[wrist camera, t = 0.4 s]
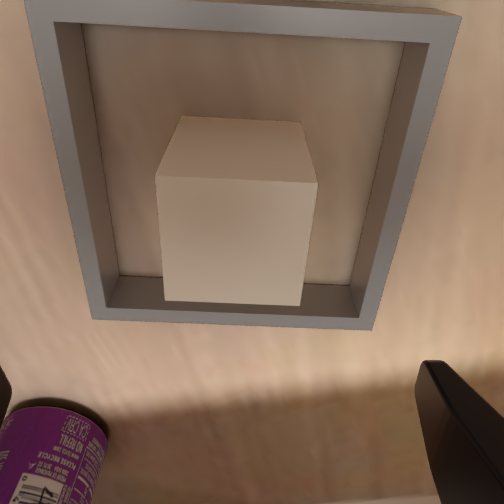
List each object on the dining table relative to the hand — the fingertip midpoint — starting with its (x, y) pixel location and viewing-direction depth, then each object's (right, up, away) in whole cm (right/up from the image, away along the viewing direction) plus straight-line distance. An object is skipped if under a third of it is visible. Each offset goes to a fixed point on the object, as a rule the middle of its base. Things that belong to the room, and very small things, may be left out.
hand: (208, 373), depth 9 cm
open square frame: (0, +6, +10) cm, 12 cm away
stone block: (0, +6, +10) cm, 12 cm away
